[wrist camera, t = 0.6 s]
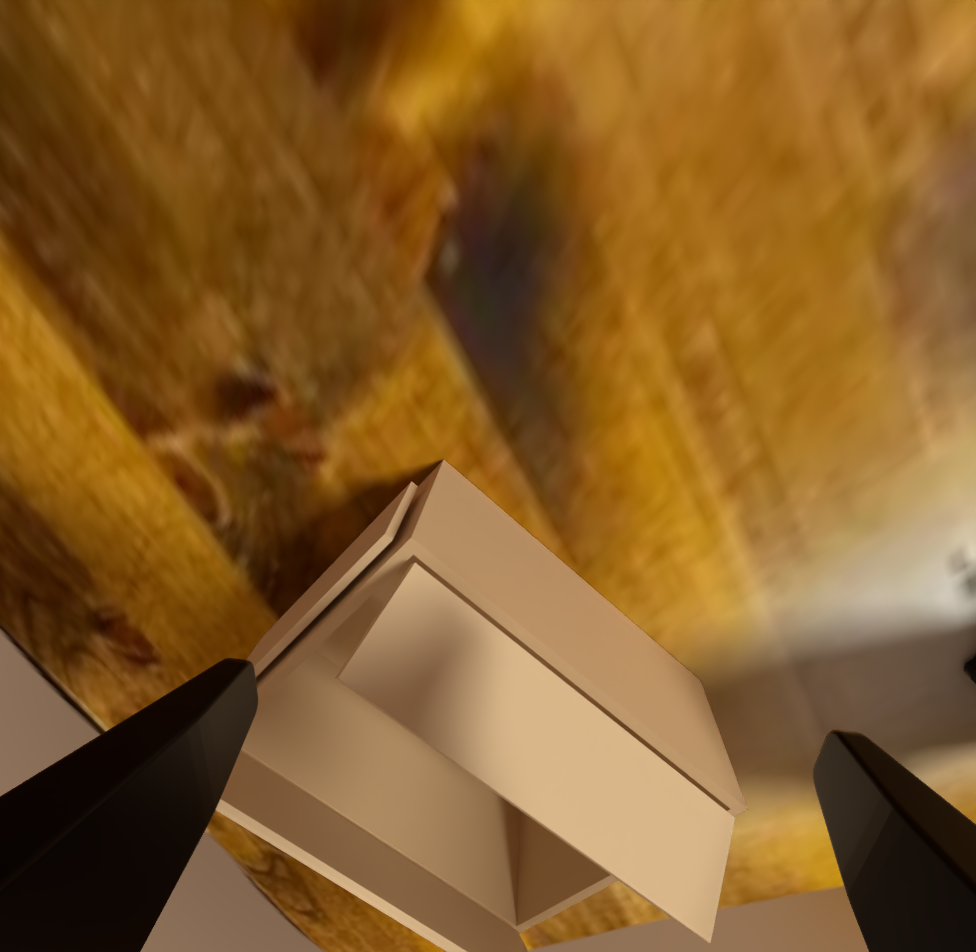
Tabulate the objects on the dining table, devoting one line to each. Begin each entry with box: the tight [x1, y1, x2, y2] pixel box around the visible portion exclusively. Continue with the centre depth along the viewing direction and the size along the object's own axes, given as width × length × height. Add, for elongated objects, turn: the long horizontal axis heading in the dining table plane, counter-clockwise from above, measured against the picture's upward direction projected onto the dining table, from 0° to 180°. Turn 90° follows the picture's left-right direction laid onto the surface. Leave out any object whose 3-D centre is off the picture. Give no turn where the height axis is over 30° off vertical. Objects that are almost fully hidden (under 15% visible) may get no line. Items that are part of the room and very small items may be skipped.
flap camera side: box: [216, 752, 528, 952], centre depth 19 cm, size 14×4×1 cm
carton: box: [240, 460, 748, 933], centre depth 22 cm, size 16×12×6 cm
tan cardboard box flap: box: [335, 563, 735, 943], centre depth 16 cm, size 14×4×1 cm
